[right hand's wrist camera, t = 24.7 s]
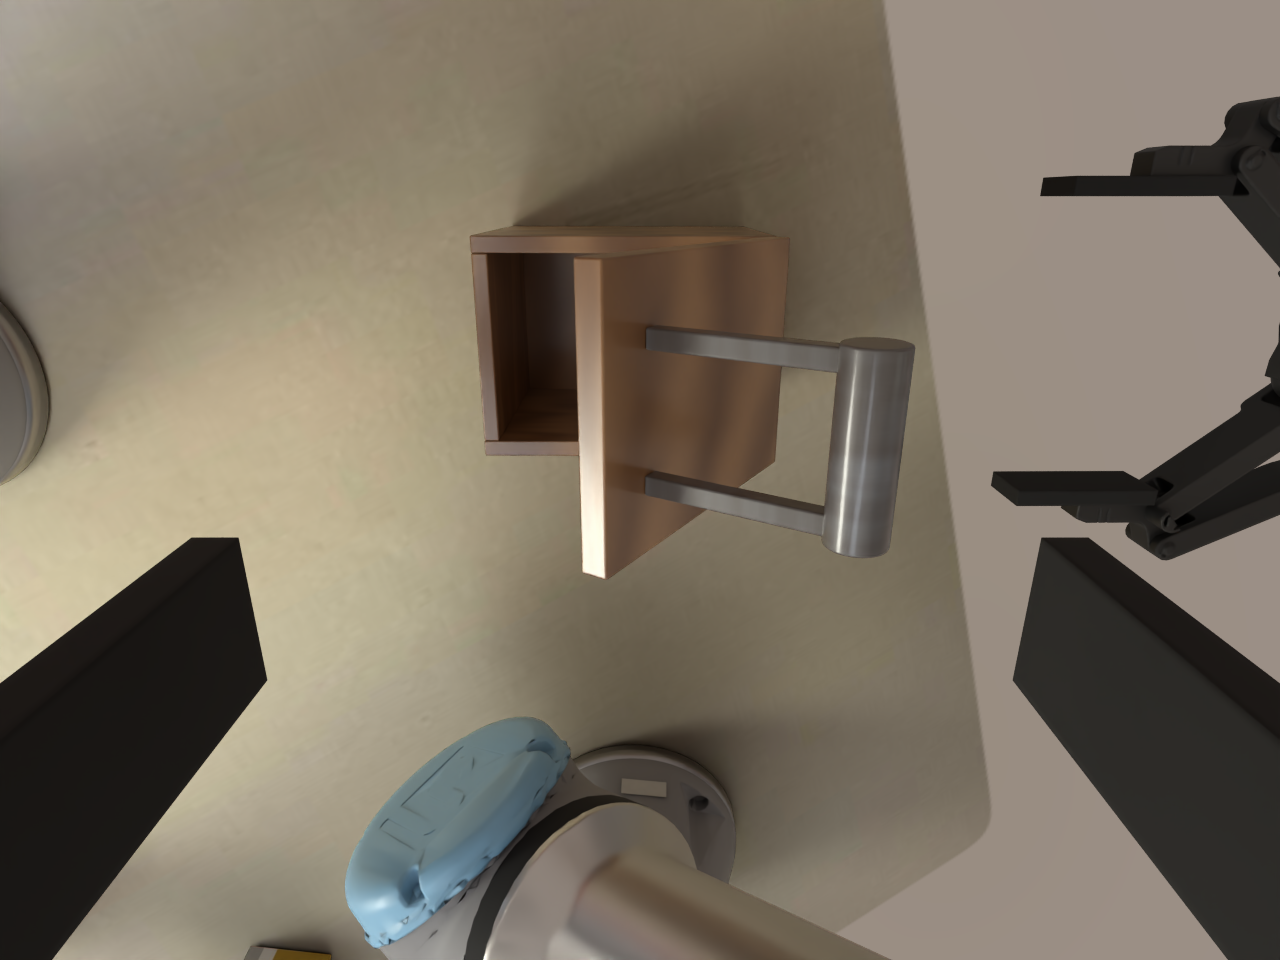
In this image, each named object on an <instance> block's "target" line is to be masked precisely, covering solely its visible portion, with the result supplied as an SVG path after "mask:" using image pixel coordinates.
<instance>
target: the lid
mask: <svg viewBox="0 0 1280 960" xmlns="http://www.w3.org/2000/svg"><path fill="white" fill-rule="evenodd" d="M789 246H790V238H789V237H761V238H751V239H742V240H732V241H722V242H713V243H703V244H693V245H683V246H674V247H664V248H654V249H645V250H635V251H625V252H615V253H606V254H596V255H586V256H577V257H575V258H574V293H575V330H576V366H577V403H578V439H579V476H580V513H581V549H582V572H583V573H585V574H588V575H592V576H595V577H598V578H601V579H605V580H607V579H609V578H610V577H612V576H613V575H614V574H616V573H617V572H619V571H620V570H621V569H623V568H624V567H626V566H627V565H629V564H630V563H631V562H633V561H634V560H636V559H637V558H639V557H640V556H641V555H643V554H644V553H646V552H647V551H649V550H650V549H651V548H653V547H654V546H656V545H657V544H658V543H660V542H661V541H663V540H664V539H666V538H667V537H668V536H670V535H671V534H673V533H674V532H676V531H677V530H678V529H680V528H681V527H683V526H684V525H685V524H687V523H688V522H690V521H691V520H693V519H694V518H695V517H697V516H698V515H700V514H701V513H703V512H704V511H705V510H712V511H716V512H720V513H724V514H729V515H733V516H737V517H742V518H746V519H750V520H755V521H759V522H763V523H768V524H772V525H776V526H780V527H785V528H789V529H793V530H798V531H802V532H806V533H811V534H815V535H819V536H822V537H821V540H822V543H823V545H824V546H825V547H826V548H827V549H829V550H831V551H833V552H835V553H837V554H840V555H844V556H848V557H855V558H872V557H878V556H881V555H883V554H885V553H886V552H887V551H888V550H889V548H890V540H891V533H892V525H893V517H894V509H895V502H896V494H897V486H898V478H899V470H900V463H901V455H902V447H903V439H904V432H905V424H906V416H907V408H908V400H909V393H910V385H911V377H912V369H913V362H914V354H915V346H914V345H913V344H912V343H909V342H906V341H902V340H897V339H890V338H878V337H858V338H849V339H845V340H842V341H841V342H840V343H833V342H823V341H813V340H803V339H793V338H783V335H784V320H785V305H786V290H787V275H788V261H789ZM781 366H784V367H793V368H801V369H809V370H818V371H826V372H834V373H837V377H836V388H835V399H834V409H833V420H832V431H831V441H830V452H829V463H828V473H827V484H826V495H825V505H824V506H820V505H815V504H811V503H806V502H801V501H797V500H792V499H787V498H782V497H778V496H773V495H768V494H764V493H759V492H754V491H749V490H745V489H740V488H738V487H739V486H741V485H742V484H744V483H745V482H747V481H748V480H749V479H751V478H752V477H754V476H755V475H757V474H758V473H759V472H761V471H762V470H764V469H765V468H767V467H768V466H769V465H771V464H772V463H774V462H775V453H776V438H777V423H778V408H779V394H780V379H781Z"/></svg>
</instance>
